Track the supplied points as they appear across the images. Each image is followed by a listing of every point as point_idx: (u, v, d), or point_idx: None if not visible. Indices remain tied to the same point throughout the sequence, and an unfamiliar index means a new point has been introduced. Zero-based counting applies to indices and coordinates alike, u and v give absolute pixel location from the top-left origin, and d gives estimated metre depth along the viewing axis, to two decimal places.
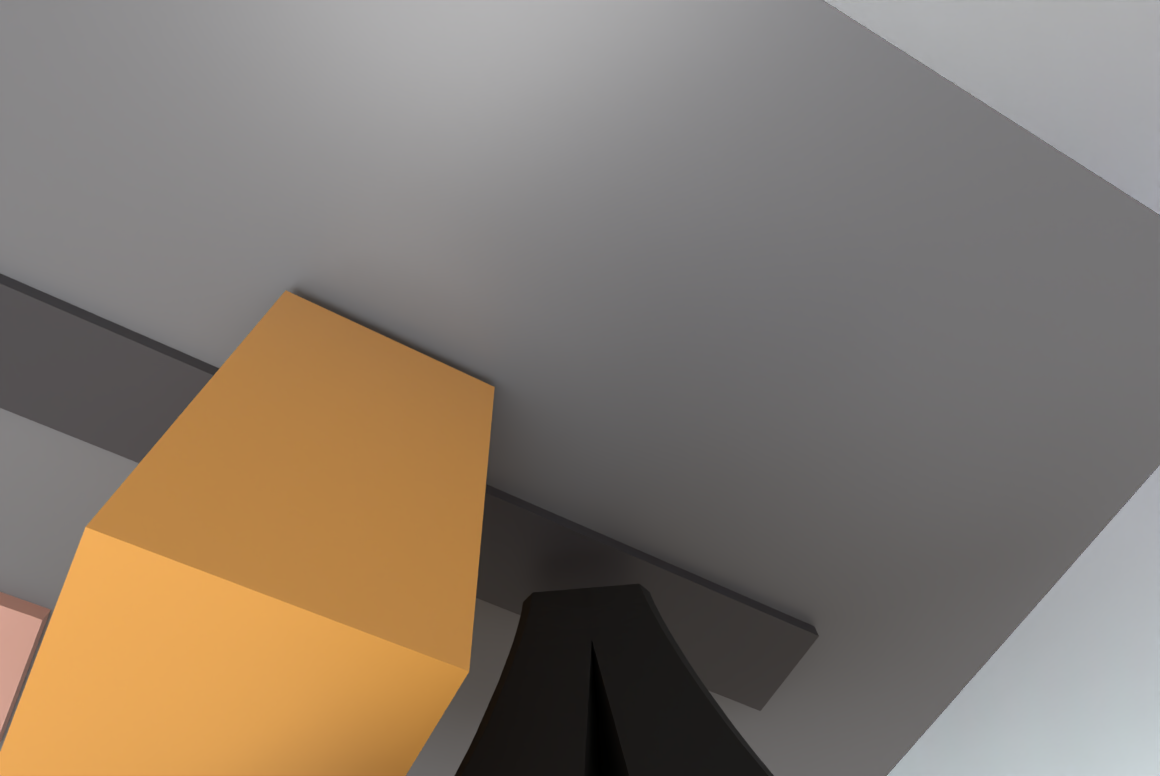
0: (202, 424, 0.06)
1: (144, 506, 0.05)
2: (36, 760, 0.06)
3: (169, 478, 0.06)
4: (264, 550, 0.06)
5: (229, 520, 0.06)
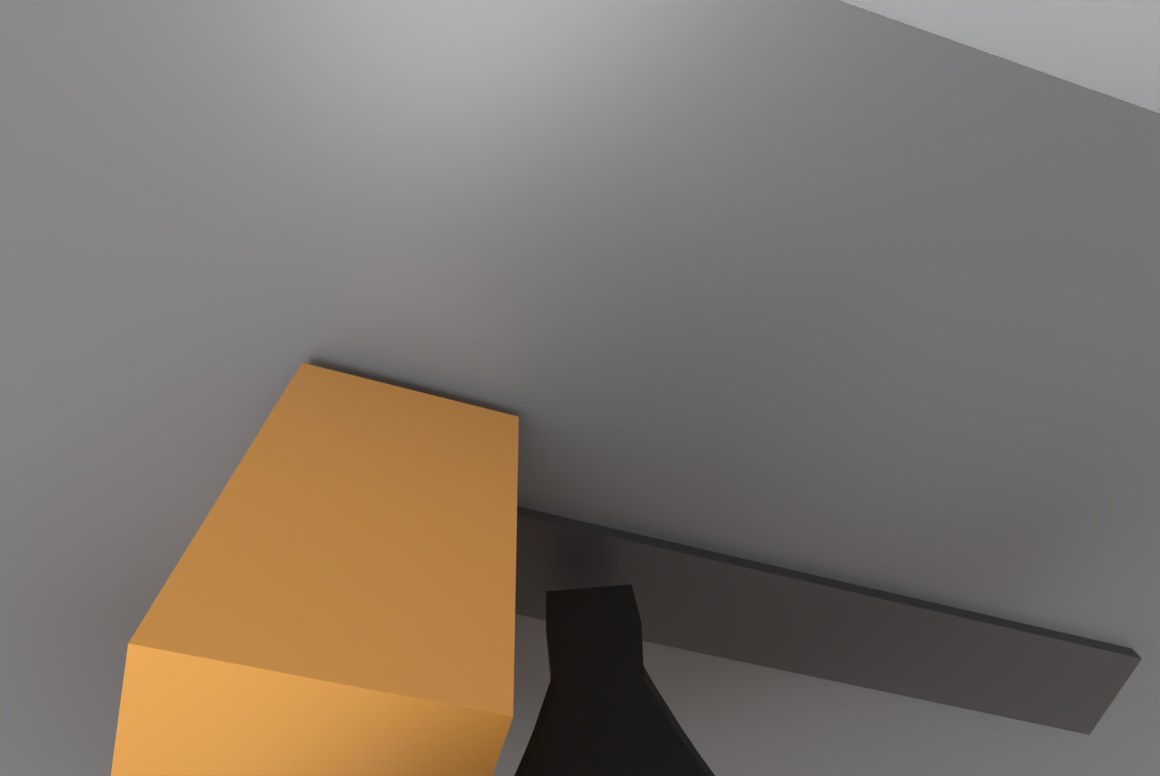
0: (231, 517, 0.07)
1: (182, 611, 0.06)
2: None
3: (204, 578, 0.06)
4: (301, 631, 0.06)
5: (264, 609, 0.06)
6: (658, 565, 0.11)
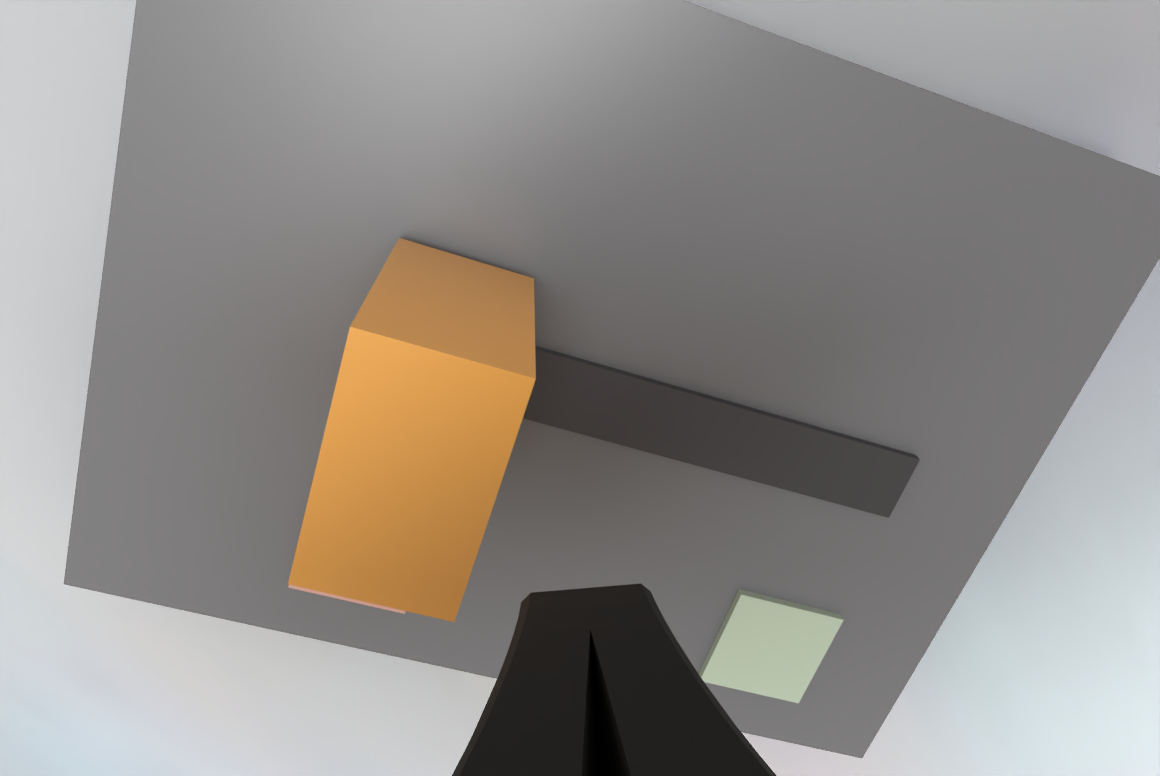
0: (381, 293, 0.12)
1: (370, 321, 0.11)
2: (335, 458, 0.12)
3: (376, 312, 0.12)
4: (427, 336, 0.11)
5: (408, 326, 0.11)
6: (587, 377, 0.16)
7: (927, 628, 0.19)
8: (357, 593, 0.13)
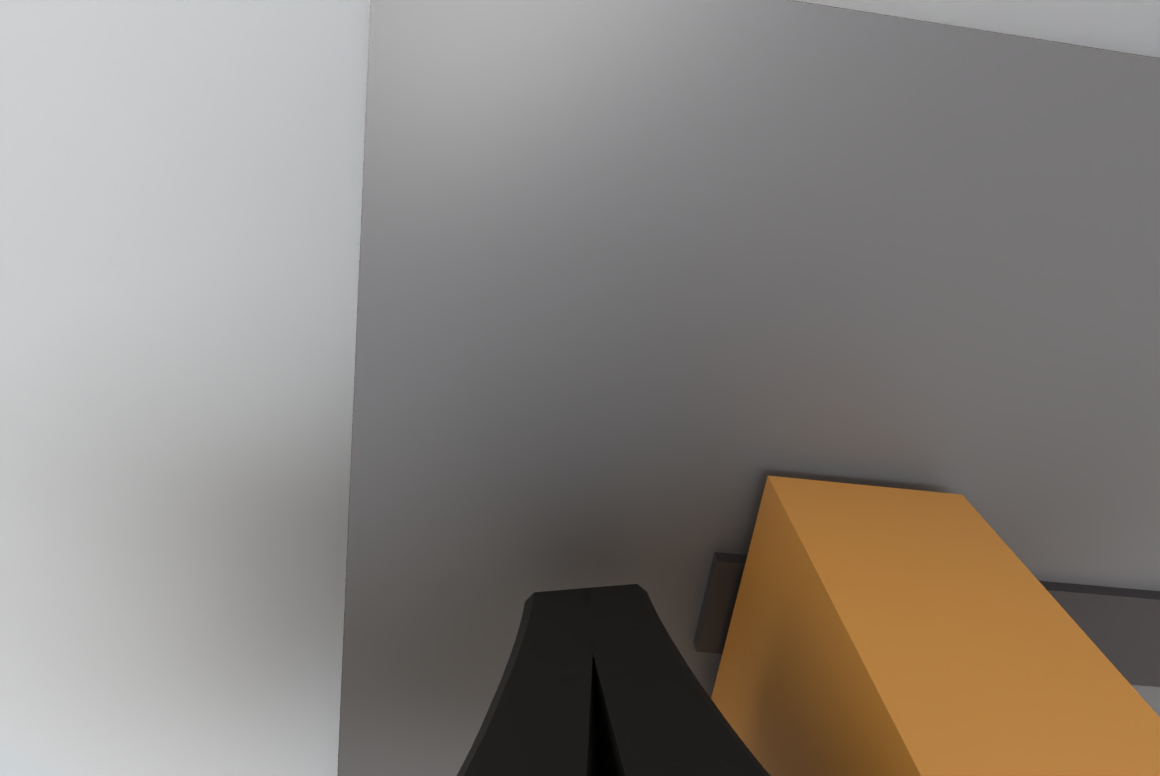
0: (875, 650, 0.08)
1: (933, 752, 0.06)
2: None
3: (915, 716, 0.07)
4: (1026, 755, 0.07)
5: (981, 737, 0.07)
6: None
7: None
8: None
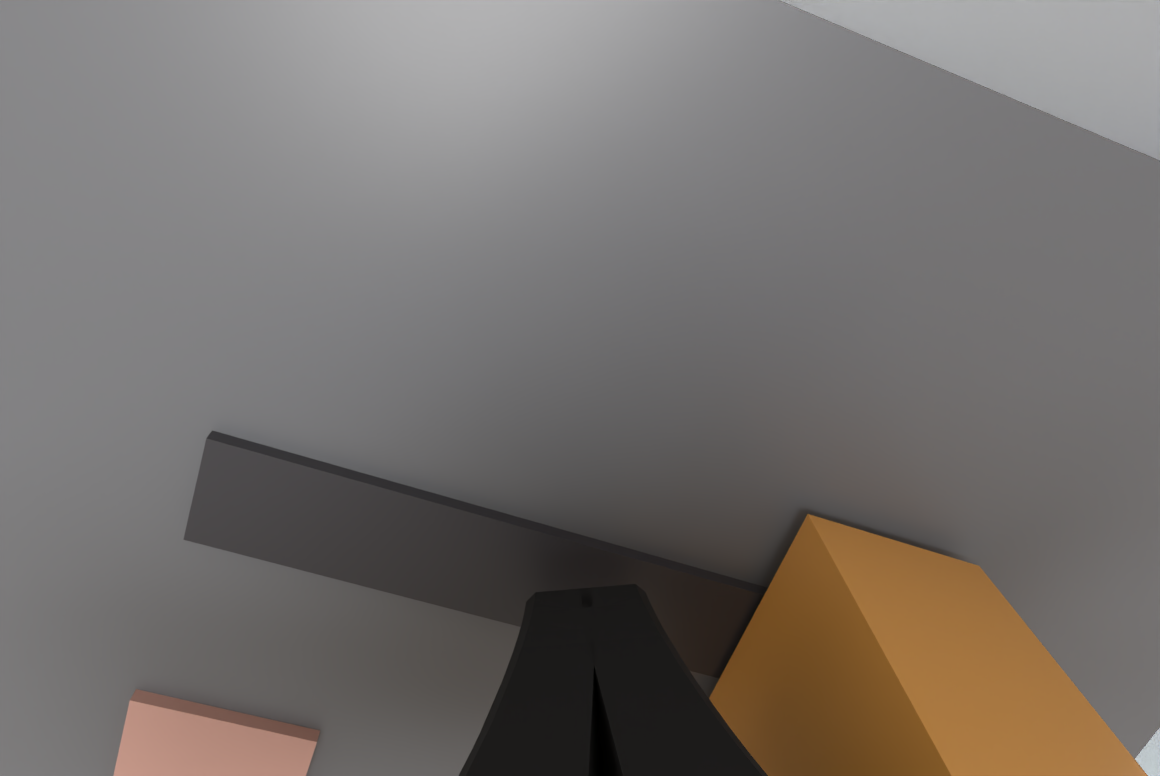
0: (924, 699, 0.08)
1: None
2: None
3: (967, 768, 0.07)
4: None
5: None
6: (549, 553, 0.11)
7: None
8: None
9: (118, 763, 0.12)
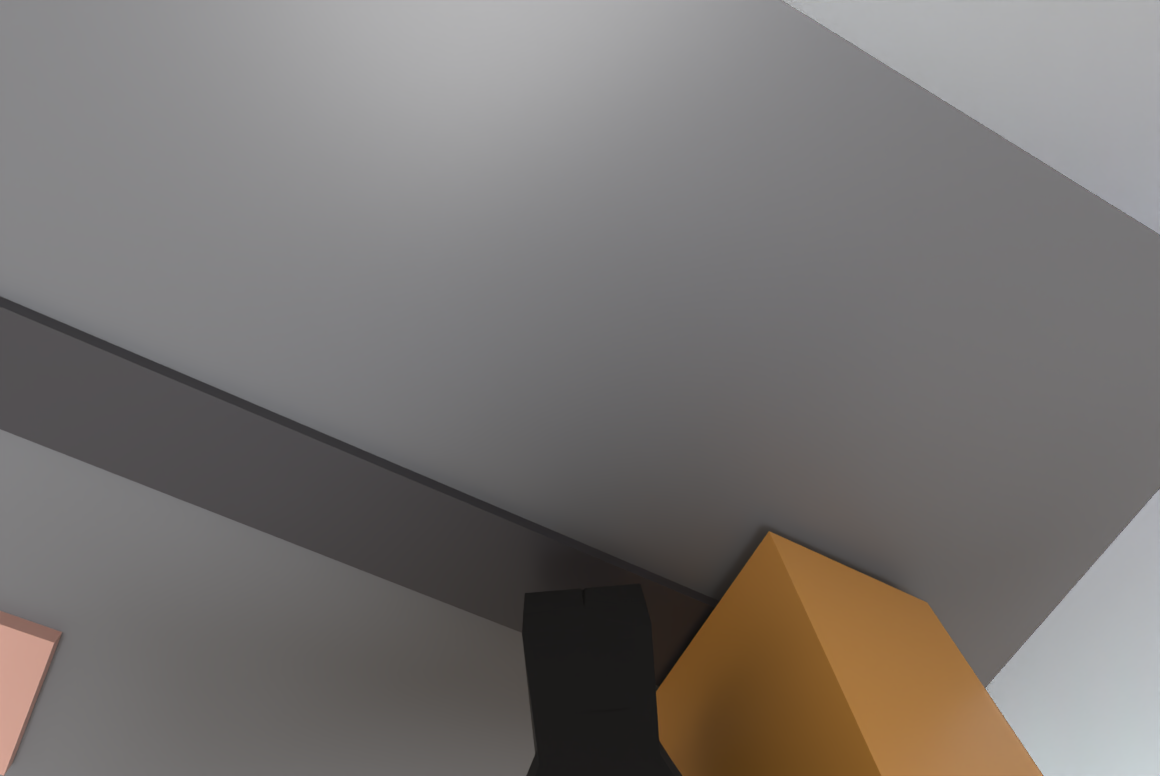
0: (869, 722, 0.08)
1: None
2: None
3: None
4: None
5: None
6: (319, 461, 0.10)
7: None
8: None
9: None
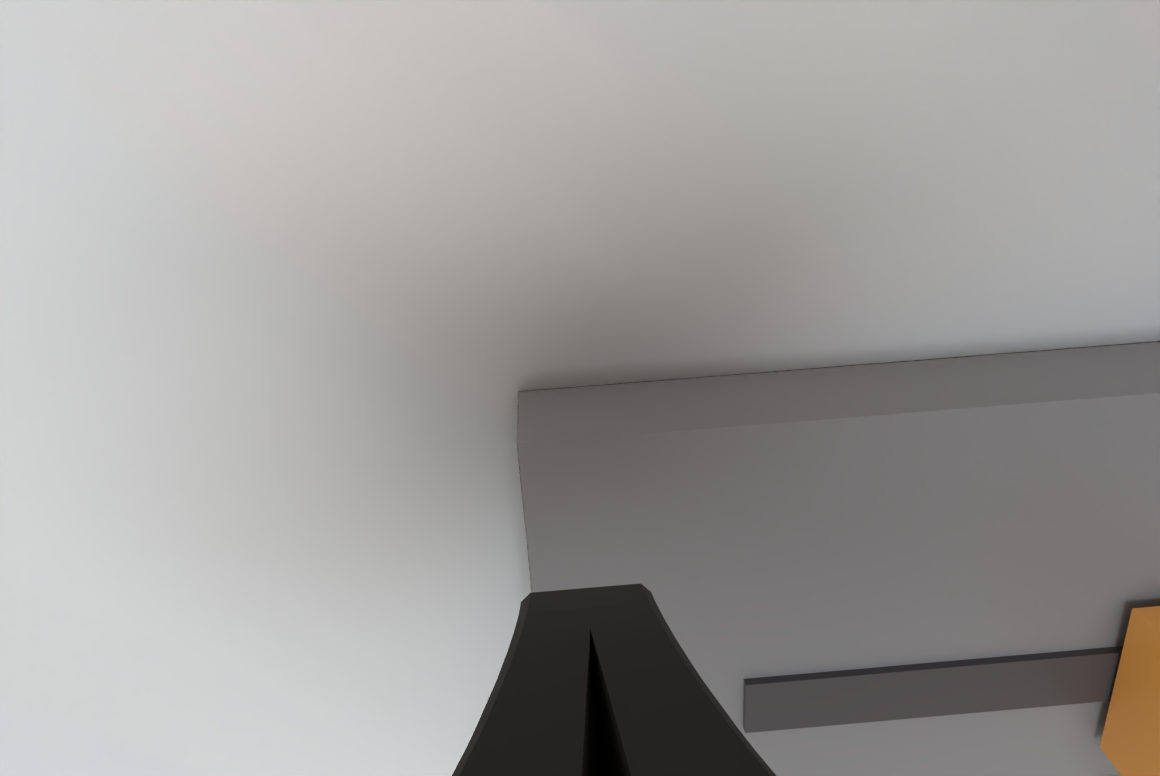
0: None
1: None
2: None
3: None
4: None
5: None
6: (929, 677, 0.20)
7: None
8: None
9: None
